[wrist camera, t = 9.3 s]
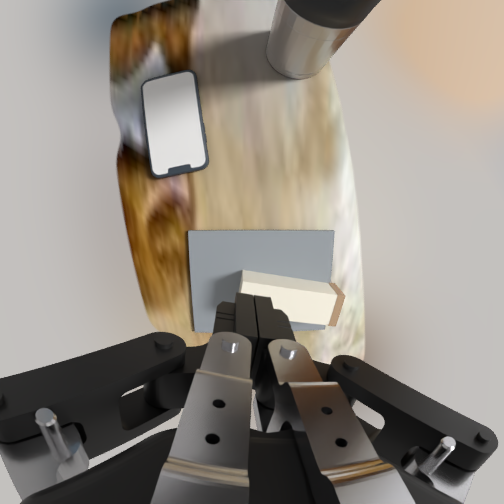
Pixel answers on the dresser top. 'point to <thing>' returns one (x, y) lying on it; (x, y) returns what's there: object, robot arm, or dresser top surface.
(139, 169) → the dresser top surface
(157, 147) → the dark grey smartphone
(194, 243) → the rubber mat
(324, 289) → the cream block
